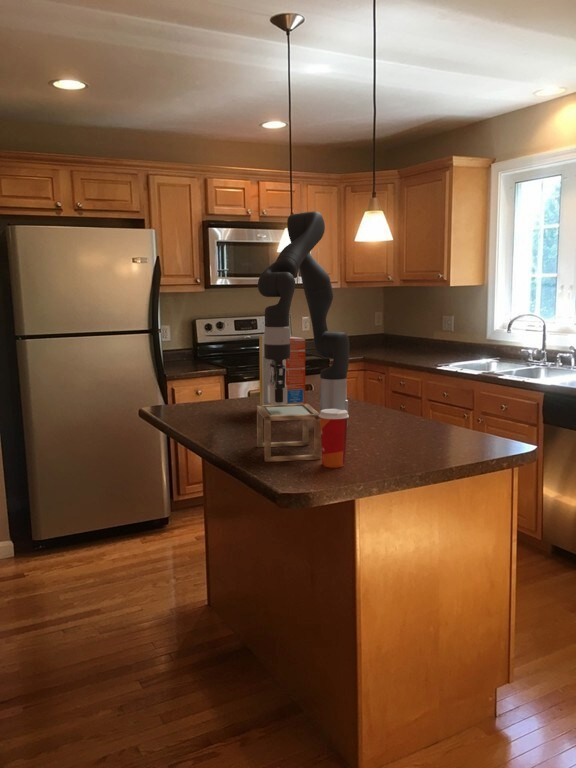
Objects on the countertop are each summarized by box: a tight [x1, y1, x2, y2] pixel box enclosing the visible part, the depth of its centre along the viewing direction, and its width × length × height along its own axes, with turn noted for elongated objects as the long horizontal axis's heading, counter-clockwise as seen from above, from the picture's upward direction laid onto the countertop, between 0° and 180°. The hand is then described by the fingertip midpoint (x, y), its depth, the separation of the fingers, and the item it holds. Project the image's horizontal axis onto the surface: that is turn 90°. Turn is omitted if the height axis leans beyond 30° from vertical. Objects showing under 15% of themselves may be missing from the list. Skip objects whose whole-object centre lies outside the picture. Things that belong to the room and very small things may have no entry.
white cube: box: [268, 384, 287, 404], centre depth 188 cm, size 5×5×5 cm
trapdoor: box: [266, 406, 310, 415], centre depth 189 cm, size 12×15×1 cm
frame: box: [256, 403, 322, 463], centre depth 190 cm, size 16×19×13 cm
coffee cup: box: [319, 409, 350, 469], centre depth 176 cm, size 8×8×15 cm
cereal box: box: [258, 334, 306, 405], centre depth 250 cm, size 23×8×30 cm, turn 27°
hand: (277, 400), depth 189 cm, fingers closed on white cube, 5 cm apart
